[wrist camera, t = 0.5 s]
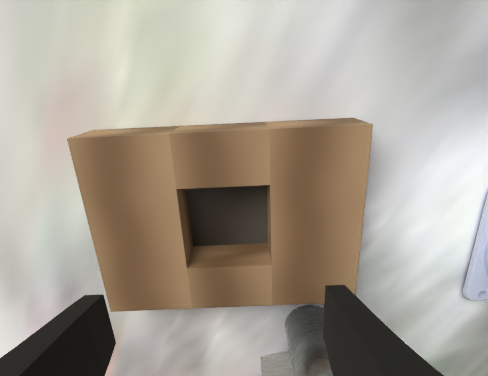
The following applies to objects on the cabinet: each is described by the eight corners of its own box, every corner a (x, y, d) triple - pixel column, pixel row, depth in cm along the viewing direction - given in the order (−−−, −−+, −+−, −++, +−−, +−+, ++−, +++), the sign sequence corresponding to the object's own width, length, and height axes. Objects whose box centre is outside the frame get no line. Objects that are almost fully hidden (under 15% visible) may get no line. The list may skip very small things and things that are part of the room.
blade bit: (353, 332, 21) (364, 357, 19) (358, 356, 22) (369, 382, 20) (260, 352, 22) (261, 378, 20) (268, 375, 23) (270, 401, 21)
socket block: (353, 118, 16) (372, 124, 13) (340, 274, 19) (354, 301, 17) (93, 130, 16) (66, 138, 13) (127, 283, 19) (110, 311, 17)
